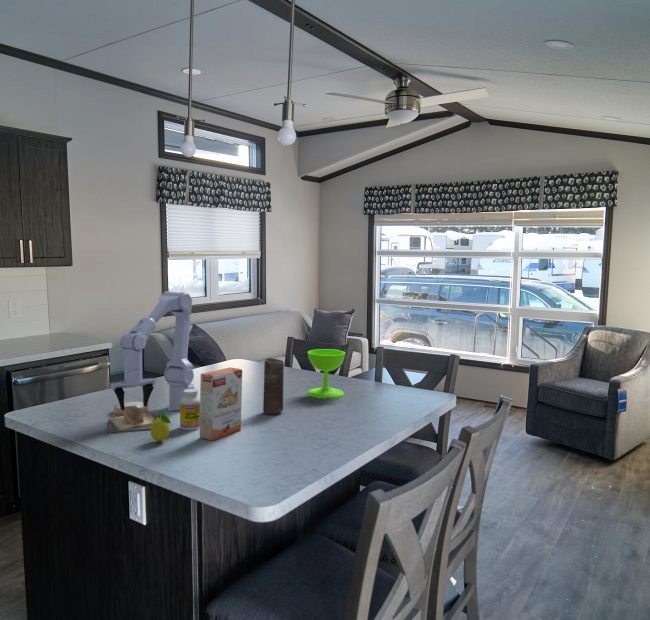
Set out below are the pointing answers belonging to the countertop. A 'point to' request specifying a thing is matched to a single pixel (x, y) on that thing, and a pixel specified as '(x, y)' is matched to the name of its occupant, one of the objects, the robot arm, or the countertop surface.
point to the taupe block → (132, 419)
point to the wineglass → (326, 370)
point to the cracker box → (220, 403)
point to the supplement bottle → (190, 410)
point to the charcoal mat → (114, 430)
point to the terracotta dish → (138, 403)
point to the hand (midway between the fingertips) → (133, 407)
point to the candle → (273, 386)
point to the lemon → (160, 427)
